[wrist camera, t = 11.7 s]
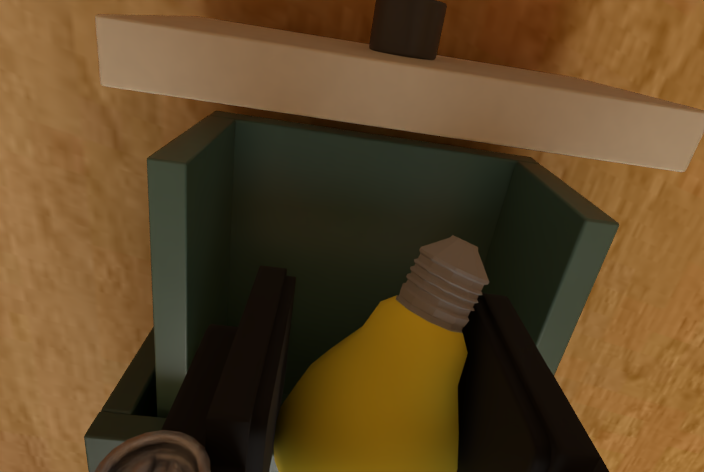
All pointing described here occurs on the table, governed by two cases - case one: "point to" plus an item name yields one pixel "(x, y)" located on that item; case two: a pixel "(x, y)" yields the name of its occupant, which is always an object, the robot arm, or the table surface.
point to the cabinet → (129, 409)
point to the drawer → (368, 175)
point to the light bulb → (390, 378)
